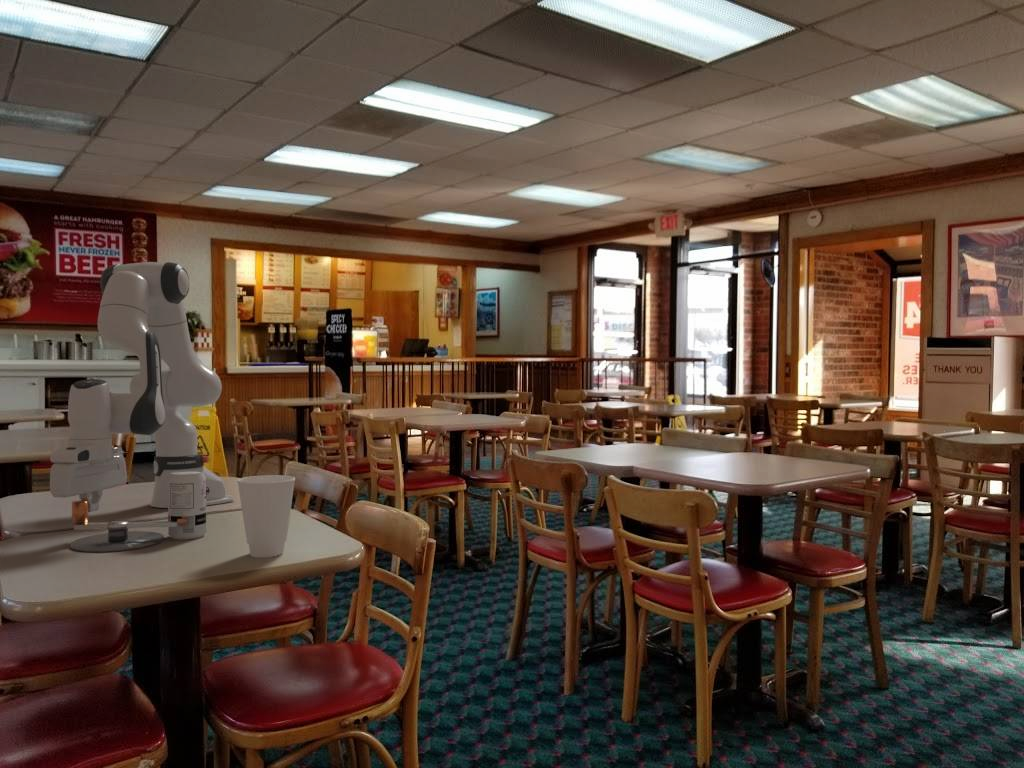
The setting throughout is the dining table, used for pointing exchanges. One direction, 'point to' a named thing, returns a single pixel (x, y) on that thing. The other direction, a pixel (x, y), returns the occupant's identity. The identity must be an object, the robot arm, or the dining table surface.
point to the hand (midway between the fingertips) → (91, 511)
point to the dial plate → (117, 541)
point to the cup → (266, 512)
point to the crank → (82, 521)
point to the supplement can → (187, 503)
